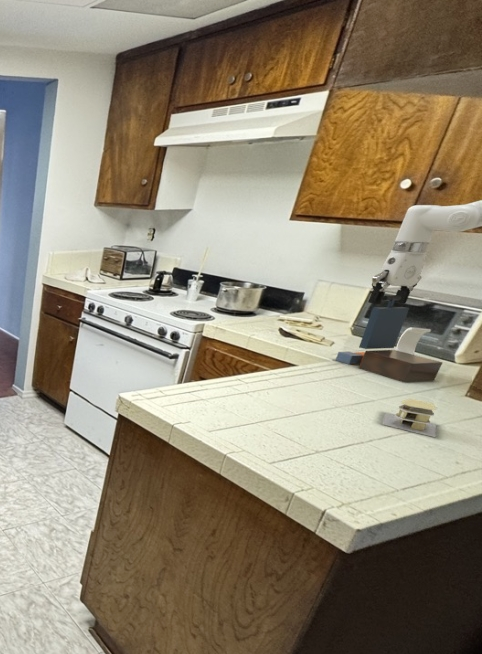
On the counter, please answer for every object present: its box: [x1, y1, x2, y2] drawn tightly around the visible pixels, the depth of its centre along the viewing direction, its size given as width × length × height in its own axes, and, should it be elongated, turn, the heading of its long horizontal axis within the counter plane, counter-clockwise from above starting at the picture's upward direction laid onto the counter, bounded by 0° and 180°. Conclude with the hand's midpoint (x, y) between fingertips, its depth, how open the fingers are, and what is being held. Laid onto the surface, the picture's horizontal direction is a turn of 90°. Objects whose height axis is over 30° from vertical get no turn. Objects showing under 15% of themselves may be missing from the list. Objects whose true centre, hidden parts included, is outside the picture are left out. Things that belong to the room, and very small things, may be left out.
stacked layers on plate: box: [381, 398, 437, 438], centre depth 113 cm, size 10×9×6 cm
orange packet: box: [355, 351, 366, 365], centre depth 159 cm, size 3×4×4 cm
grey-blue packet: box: [335, 351, 363, 365], centre depth 160 cm, size 3×4×4 cm
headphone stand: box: [395, 326, 432, 355], centre depth 161 cm, size 5×6×12 cm
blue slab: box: [358, 294, 410, 350], centre depth 151 cm, size 17×11×3 cm
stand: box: [358, 349, 443, 383], centre depth 148 cm, size 13×11×6 cm
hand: (386, 303), depth 151 cm, fingers open, 9 cm apart
